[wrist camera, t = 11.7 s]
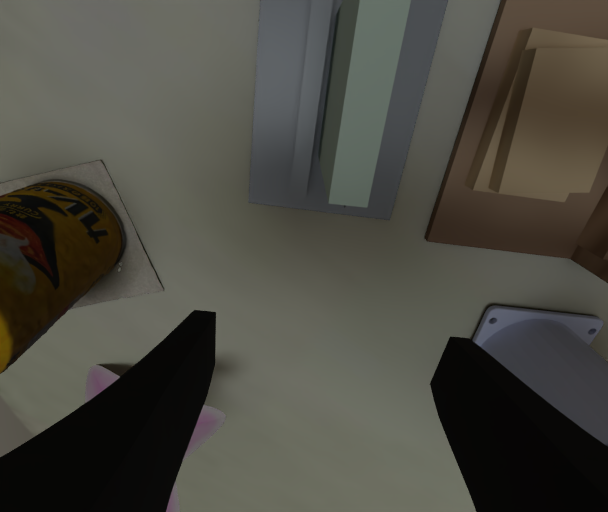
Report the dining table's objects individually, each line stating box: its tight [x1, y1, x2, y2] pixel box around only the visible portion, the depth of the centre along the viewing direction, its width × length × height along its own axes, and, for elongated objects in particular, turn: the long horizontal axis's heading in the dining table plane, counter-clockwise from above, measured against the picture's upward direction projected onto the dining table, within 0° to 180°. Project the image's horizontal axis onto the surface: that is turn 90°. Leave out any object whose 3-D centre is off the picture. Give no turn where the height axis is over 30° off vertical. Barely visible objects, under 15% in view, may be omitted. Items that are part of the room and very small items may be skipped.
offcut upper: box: [488, 47, 608, 193], centre depth 15 cm, size 6×4×1 cm
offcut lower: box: [465, 28, 608, 202], centre depth 16 cm, size 7×5×1 cm
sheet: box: [318, 0, 411, 208], centre depth 12 cm, size 6×1×8 cm, turn 173°
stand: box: [249, 0, 448, 220], centre depth 15 cm, size 12×8×2 cm, turn 172°
